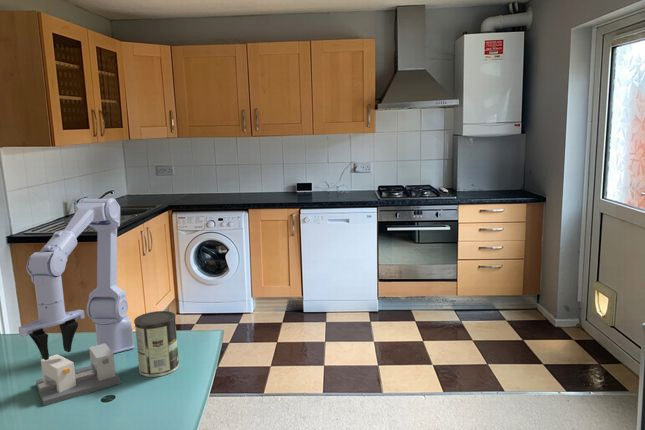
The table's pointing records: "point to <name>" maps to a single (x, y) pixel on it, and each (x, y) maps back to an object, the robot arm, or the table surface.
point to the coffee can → (156, 343)
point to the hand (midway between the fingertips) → (56, 354)
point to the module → (59, 372)
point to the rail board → (84, 377)
